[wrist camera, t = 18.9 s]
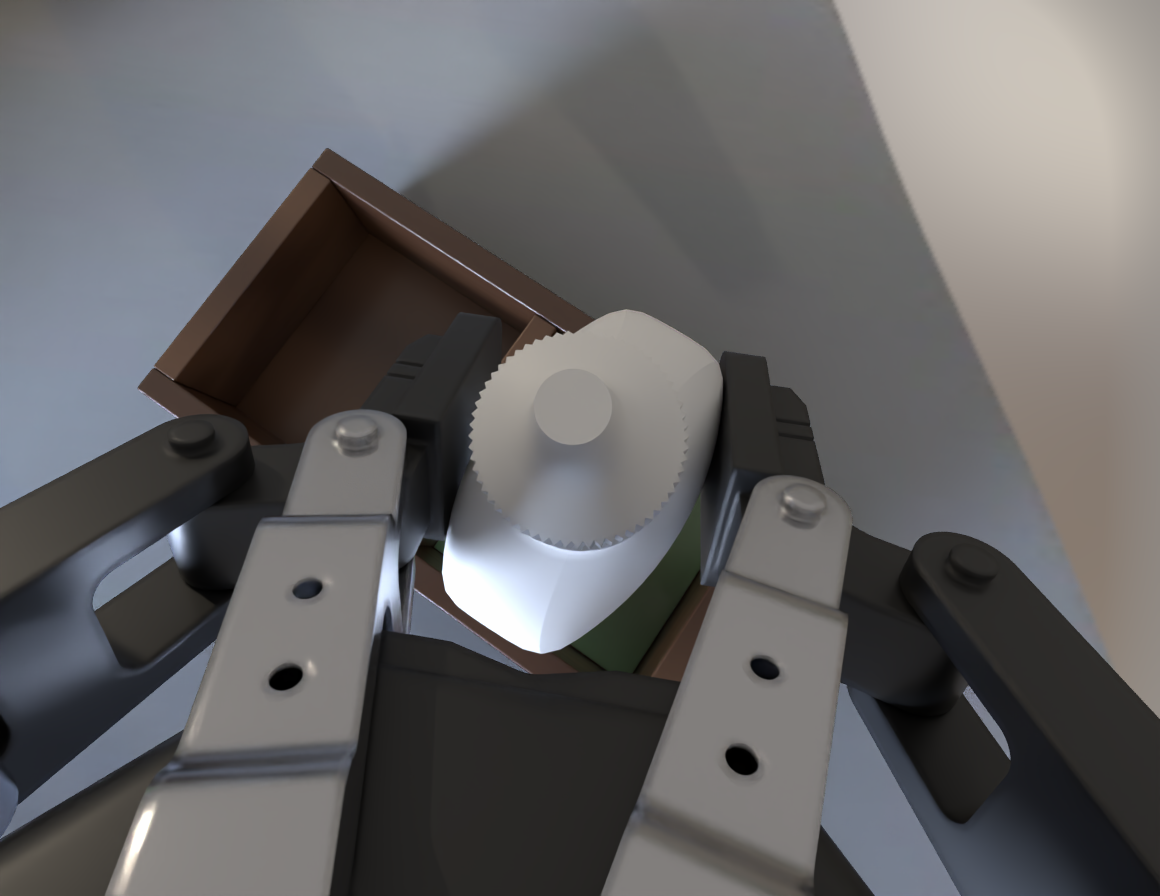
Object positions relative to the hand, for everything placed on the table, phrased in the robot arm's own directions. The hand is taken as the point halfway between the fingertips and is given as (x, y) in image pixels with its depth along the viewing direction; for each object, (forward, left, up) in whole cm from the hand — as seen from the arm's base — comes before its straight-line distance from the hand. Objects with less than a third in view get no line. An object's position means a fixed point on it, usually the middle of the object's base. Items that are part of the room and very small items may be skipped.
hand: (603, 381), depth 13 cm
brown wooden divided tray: (-2, +3, -11) cm, 11 cm away
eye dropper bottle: (-2, -1, -6) cm, 6 cm away
